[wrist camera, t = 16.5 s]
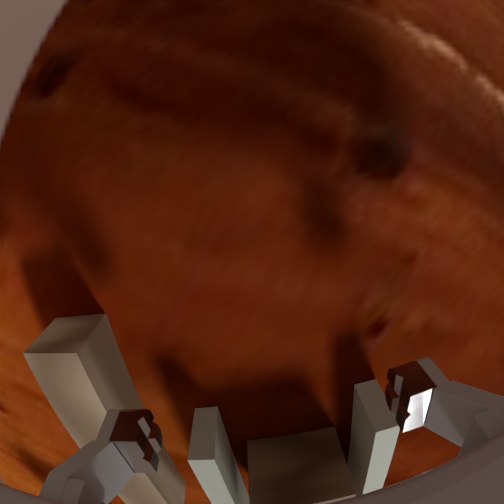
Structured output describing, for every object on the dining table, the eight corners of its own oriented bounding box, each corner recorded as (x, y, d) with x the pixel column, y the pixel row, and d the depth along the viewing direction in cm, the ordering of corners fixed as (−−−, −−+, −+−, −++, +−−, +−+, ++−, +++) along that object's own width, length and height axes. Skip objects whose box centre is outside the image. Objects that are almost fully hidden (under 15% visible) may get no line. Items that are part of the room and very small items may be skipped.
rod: (107, 310, 13) (77, 353, 10) (186, 481, 17) (182, 521, 14) (58, 315, 13) (22, 353, 10) (147, 480, 17) (139, 517, 14)
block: (334, 425, 16) (356, 493, 11) (332, 468, 17) (347, 527, 12) (247, 439, 16) (249, 511, 11) (258, 480, 17) (262, 541, 12)
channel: (375, 379, 15) (400, 424, 11) (353, 510, 20) (361, 540, 16) (194, 408, 15) (187, 460, 11) (247, 527, 20) (248, 558, 16)
